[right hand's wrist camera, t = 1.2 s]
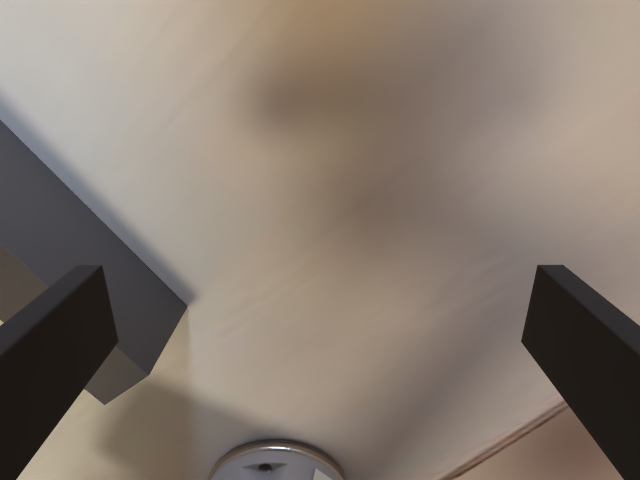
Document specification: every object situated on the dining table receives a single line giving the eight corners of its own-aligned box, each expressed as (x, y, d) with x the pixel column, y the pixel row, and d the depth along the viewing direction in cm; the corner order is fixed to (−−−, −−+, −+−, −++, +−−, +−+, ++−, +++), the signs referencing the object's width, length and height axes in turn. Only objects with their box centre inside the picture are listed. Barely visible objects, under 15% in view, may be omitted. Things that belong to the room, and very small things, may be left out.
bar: (187, 306, 37) (149, 375, 29) (151, 331, 38) (104, 405, 30) (-81, 38, 29) (-243, 28, 20) (-118, 81, 30) (-285, 87, 22)
